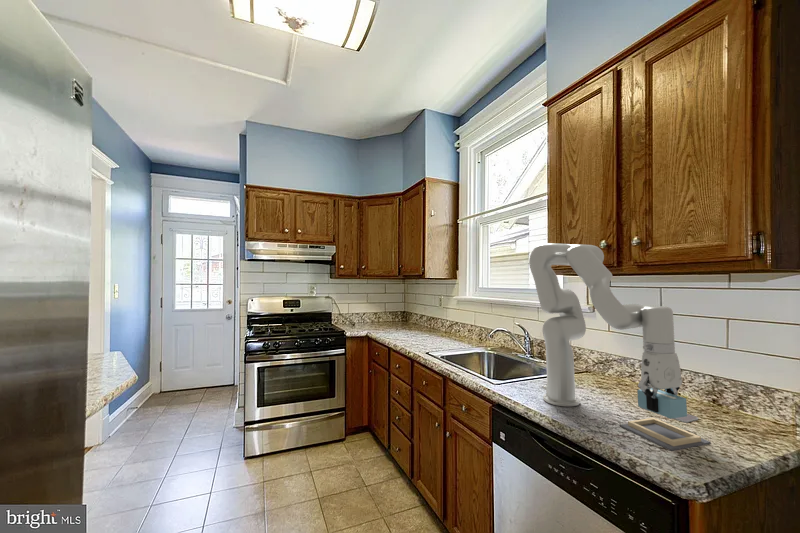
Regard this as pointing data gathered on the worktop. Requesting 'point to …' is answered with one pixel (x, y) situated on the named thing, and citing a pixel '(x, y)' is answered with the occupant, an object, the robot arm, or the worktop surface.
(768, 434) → the worktop surface
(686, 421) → the smartphone
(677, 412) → the card box
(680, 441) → the mat
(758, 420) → the worktop surface
